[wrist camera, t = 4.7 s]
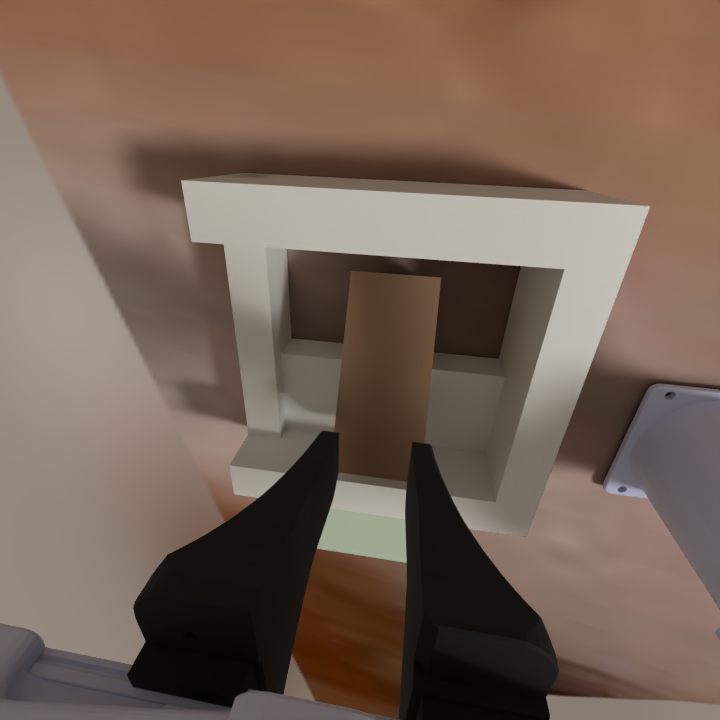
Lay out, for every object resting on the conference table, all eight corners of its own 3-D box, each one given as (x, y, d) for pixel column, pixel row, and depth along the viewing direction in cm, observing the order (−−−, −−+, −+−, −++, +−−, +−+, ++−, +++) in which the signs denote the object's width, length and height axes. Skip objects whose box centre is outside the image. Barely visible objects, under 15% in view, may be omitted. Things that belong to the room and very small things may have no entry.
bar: (434, 294, 20) (441, 277, 17) (417, 463, 20) (420, 483, 17) (359, 288, 21) (351, 270, 17) (342, 454, 21) (330, 471, 17)
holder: (586, 190, 17) (650, 205, 12) (506, 461, 25) (526, 537, 20) (243, 172, 19) (180, 180, 14) (268, 431, 27) (234, 494, 22)
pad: (452, 488, 27) (452, 495, 26) (436, 560, 31) (437, 567, 30) (311, 469, 28) (309, 475, 27) (314, 541, 32) (312, 547, 31)
